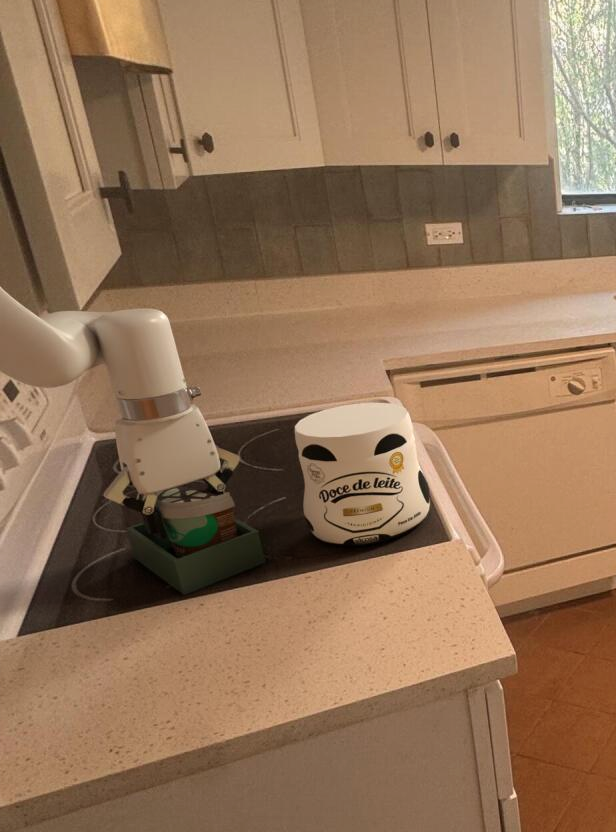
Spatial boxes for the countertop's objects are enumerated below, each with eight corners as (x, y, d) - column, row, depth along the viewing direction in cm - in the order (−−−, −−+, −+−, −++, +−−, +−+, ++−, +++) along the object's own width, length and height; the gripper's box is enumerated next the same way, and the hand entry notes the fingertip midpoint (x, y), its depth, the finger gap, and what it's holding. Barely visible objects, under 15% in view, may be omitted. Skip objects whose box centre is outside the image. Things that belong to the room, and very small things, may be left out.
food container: (146, 559, 110) (126, 495, 106) (190, 539, 115) (172, 478, 112) (205, 577, 105) (186, 511, 102) (248, 556, 111) (231, 492, 107)
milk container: (355, 568, 109) (330, 449, 103) (286, 537, 118) (260, 425, 112) (457, 519, 123) (441, 412, 117) (389, 495, 132) (371, 393, 126)
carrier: (136, 562, 111) (125, 528, 109) (215, 534, 119) (206, 501, 117) (185, 598, 102) (174, 561, 100) (266, 565, 110) (258, 530, 108)
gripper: (215, 383, 111) (244, 497, 117) (63, 417, 98) (104, 543, 104) (240, 392, 107) (268, 509, 113) (84, 429, 94) (126, 559, 100)
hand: (189, 524), depth 108 cm, fingers closed on food container, 6 cm apart
